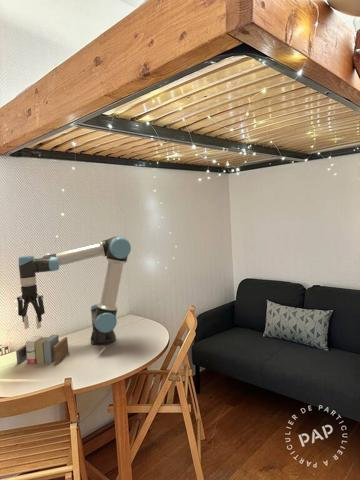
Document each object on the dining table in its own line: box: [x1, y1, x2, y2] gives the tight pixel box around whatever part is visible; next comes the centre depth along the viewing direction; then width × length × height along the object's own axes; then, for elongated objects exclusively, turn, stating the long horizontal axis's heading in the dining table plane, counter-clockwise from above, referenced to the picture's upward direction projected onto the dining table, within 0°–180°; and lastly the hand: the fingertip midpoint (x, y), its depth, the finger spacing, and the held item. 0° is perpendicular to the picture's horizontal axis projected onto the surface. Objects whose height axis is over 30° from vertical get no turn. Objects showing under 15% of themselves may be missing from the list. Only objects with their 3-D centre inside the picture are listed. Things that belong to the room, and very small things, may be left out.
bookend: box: [15, 344, 27, 365], centre depth 177 cm, size 2×9×7 cm, turn 173°
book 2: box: [43, 334, 60, 365], centre depth 175 cm, size 4×9×12 cm, turn 173°
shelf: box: [53, 336, 70, 366], centre depth 176 cm, size 23×13×11 cm, turn 83°
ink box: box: [25, 335, 44, 365], centre depth 176 cm, size 9×5×12 cm, turn 172°
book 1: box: [35, 336, 49, 365], centre depth 175 cm, size 4×8×11 cm, turn 173°
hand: (32, 327), depth 175 cm, fingers open, 6 cm apart
